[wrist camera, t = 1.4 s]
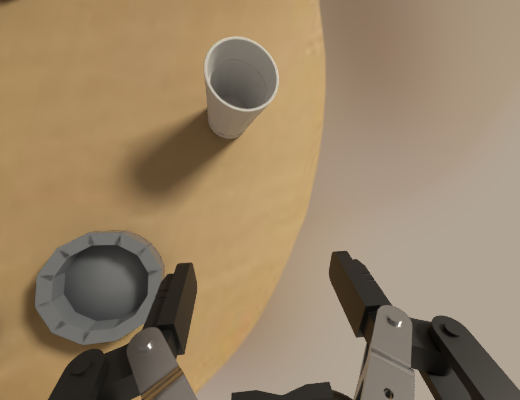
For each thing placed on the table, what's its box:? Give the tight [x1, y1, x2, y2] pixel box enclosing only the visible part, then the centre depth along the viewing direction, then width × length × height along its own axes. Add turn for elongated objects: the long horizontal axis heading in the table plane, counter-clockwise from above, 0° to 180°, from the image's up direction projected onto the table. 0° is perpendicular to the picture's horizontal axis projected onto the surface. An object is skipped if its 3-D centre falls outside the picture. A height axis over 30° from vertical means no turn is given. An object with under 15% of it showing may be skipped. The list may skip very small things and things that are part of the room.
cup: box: [204, 37, 279, 139], centre depth 29 cm, size 8×8×12 cm
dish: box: [35, 230, 165, 345], centre depth 28 cm, size 13×13×3 cm
